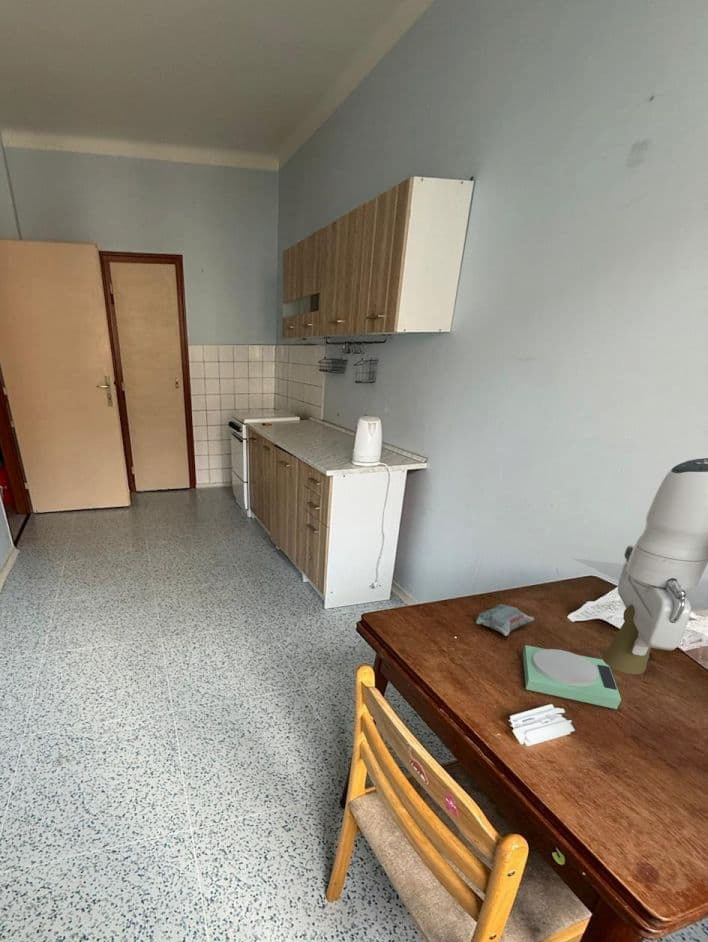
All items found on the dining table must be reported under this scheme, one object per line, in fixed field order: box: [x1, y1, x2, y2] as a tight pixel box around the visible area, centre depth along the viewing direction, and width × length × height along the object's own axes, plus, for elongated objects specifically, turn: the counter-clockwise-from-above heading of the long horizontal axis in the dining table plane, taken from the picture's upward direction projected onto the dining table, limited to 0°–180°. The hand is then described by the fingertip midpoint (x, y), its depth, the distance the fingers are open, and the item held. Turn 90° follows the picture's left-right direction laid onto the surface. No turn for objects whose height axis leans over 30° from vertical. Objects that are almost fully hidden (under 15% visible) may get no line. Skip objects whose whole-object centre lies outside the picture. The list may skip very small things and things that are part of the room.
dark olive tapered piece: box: [602, 605, 652, 675], centre depth 78 cm, size 6×6×11 cm
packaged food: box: [475, 603, 535, 637], centre depth 119 cm, size 9×12×5 cm
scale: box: [522, 644, 622, 710], centre depth 100 cm, size 16×14×4 cm
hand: (632, 643), depth 79 cm, fingers closed on dark olive tapered piece, 4 cm apart
